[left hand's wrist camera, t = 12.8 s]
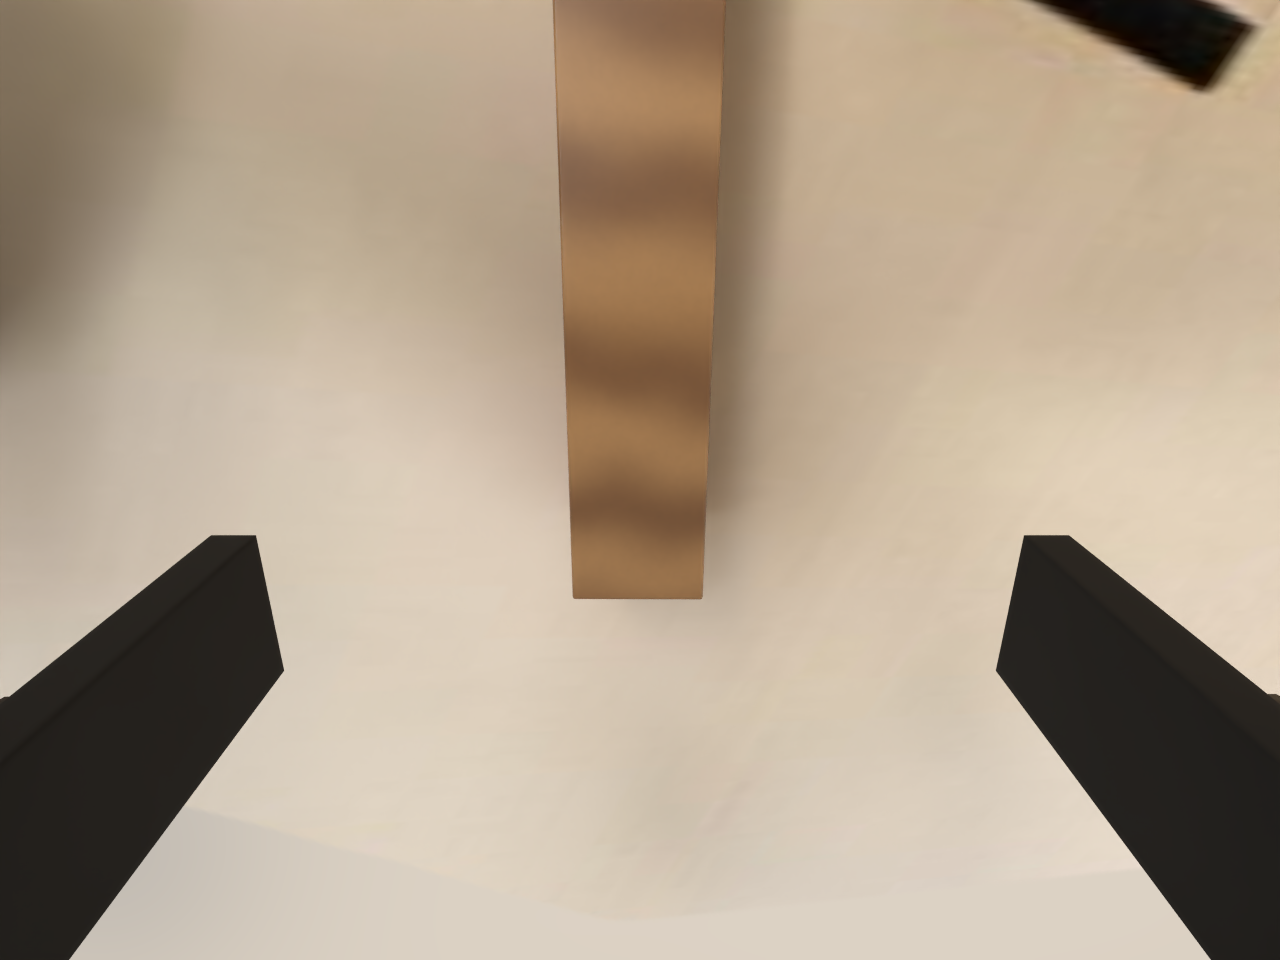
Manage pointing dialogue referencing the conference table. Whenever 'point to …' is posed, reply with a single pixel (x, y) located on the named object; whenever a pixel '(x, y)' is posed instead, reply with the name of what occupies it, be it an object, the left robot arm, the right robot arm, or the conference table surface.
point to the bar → (638, 285)
